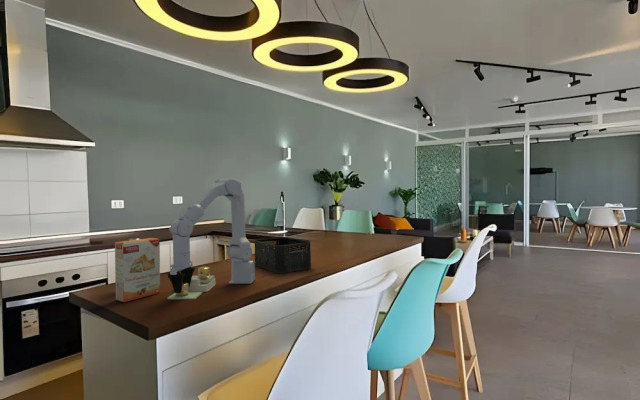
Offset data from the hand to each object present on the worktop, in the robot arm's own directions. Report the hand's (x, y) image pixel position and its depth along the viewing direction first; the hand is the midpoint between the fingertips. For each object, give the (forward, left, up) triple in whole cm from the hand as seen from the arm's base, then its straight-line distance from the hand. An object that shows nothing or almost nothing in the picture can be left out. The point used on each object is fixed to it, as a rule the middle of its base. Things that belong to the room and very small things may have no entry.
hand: (182, 289), depth 128 cm
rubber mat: (-1, 0, -2) cm, 3 cm away
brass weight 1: (0, 0, -2) cm, 2 cm away
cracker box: (+16, 0, -3) cm, 16 cm away
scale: (-1, -10, -2) cm, 11 cm away
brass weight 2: (-4, -12, +1) cm, 12 cm away
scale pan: (-1, -11, 0) cm, 12 cm away
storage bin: (-30, -50, -3) cm, 58 cm away
